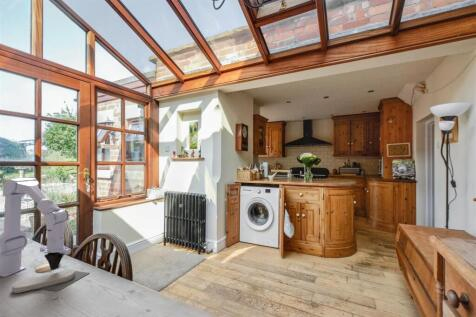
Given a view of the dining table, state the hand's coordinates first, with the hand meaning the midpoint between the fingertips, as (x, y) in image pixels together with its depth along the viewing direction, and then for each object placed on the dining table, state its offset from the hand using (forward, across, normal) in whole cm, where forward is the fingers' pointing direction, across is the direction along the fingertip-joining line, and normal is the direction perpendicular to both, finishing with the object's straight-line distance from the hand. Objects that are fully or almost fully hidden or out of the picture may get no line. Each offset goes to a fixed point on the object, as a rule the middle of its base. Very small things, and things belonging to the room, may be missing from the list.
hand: (54, 269), depth 90 cm
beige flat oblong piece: (+3, -2, -1) cm, 4 cm away
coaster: (+4, -13, +7) cm, 15 cm away
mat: (+4, +5, 0) cm, 7 cm away
